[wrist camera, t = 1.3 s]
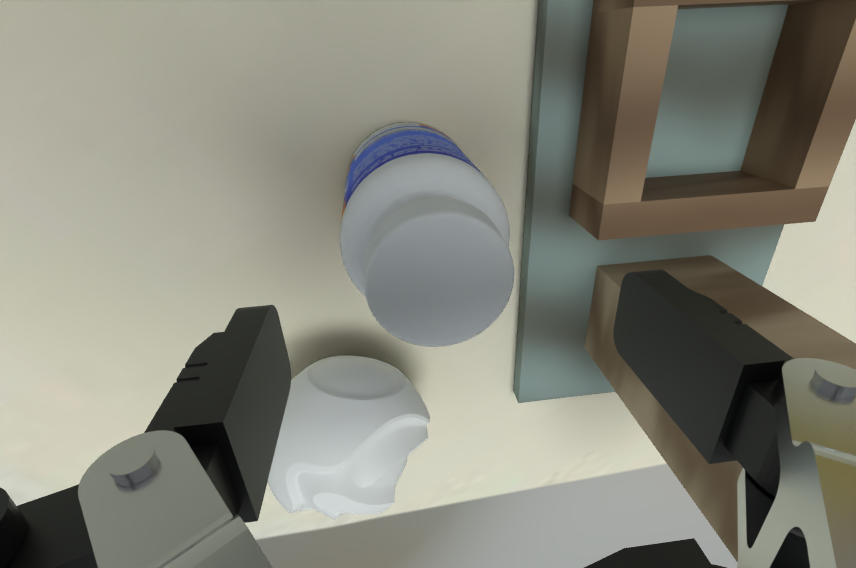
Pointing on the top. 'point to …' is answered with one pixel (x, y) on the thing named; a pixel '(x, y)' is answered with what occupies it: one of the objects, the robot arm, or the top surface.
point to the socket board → (675, 186)
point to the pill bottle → (425, 237)
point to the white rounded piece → (346, 437)
